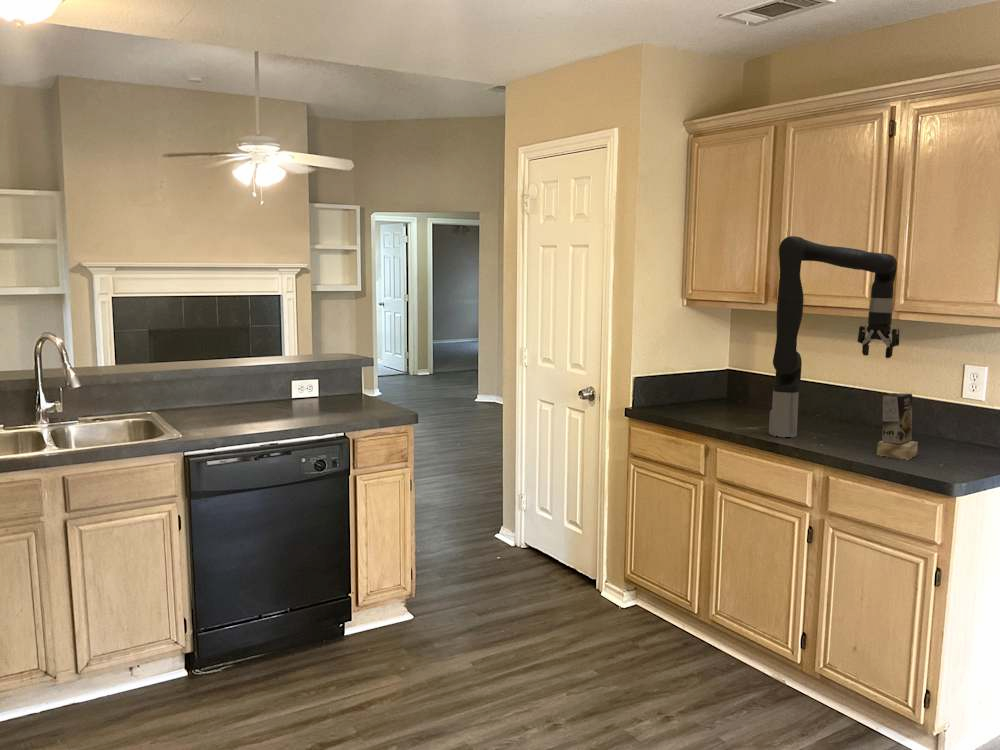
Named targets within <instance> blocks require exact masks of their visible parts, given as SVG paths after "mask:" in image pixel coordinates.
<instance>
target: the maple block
mask: <svg viewBox="0 0 1000 750" xmlns="http://www.w3.org/2000/svg"><path fill="white" fill-rule="evenodd" d="M918 445H919V442H918V441H914V440H910V441H907V442H904V443H902V444H897V443H889V442H882V440H880V441H878V442H877V446H876V447H877V450H876V456H877V455H880V456H879V457H881V456H887V457H886V458H888V457H894V458H893V459H895V458H900V459H899V460H902V459H906V460H905V461H908V460H909V459H910V460H912V459H913V458H912V457H914V456H915V457H917V456H918V447H919V446H918ZM916 455H917V456H916ZM915 457H914V458H915ZM911 458H912V459H911ZM910 460H909V461H910Z"/></svg>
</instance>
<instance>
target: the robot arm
mask: <svg viewBox="0 0 1000 750" xmlns="http://www.w3.org/2000/svg"><path fill="white" fill-rule="evenodd" d="M778 247H779V248H778V256H779V257H778V259H779V279H778V289H777V300H776V341H775V346H774V353H773V359H772V365H773V367H774V370H775V377H774V382H773V384H772V385H773V386H772V388H773V389H772V406H771V408H772V409H770V410H769V421H768V423H769V424H768V434H769V435H771V436H773V437H776V436H778V438H785V437H791V438H796V437H797V433H798V431H797V429H798V413H799V391H800V386H801V385H800V384H801V381H802V380H801V378H802V361H803V360H802V356H801V354H800V353H799V351H798V348H797V347H798V346H797V344H798V343H797V341H798V340H797V339H798V334H799V330H800V326H801V323H802V320H803V313H804V301H805V299H804V290H803V285H802V284H803V283H802V278H801V269H802V262H804V261H805V262H817V263H824V264H829V265H831V266H837V267H841V268H846V269H851V270H858V271H865V272H869V273H874V279H873V280H874V281H873V283H872V284H871V288H870V289H871V290H870V299H869V304H868V317H867V324H868V325H867V326H866V325H863V326H861V325H860V326H859V329H858V337H857V343H860V344H861V345H862V351H861V353H862V355H863V356H869V352H870V345H869V344H870V343H871V342H872V341H873V340H878V341H882V342H883V343H884V344H885V346H886V348H885V355H884V356H885V359H890V358H891V357H892V356H893V352H894V351H893V349H894V347H899V346H900V329H899V328H892V327H891V326H892V320H893V310H894V309H893V308H894V303H893V301H894V300H893V297H894V284H895V279H896V275H897V269H898V267H897V266H898V263H897V259H896V258H895V256H894V255H892V254H889V253H881V252H880V253H879V252H873V251H866V250H862V249H859V248H851V247H843V246H835V245H834V246H833V245H826V244H820V243H817V242H813V241H810V240H807V239H805V238H803V237H802V236H801V237H800V236H797V235H796V236H795V235H790V236H787V237H785V238H783V239H782V241H781V242H780V244H779V246H778ZM866 333H868V334H867V335H866ZM890 335H891V336H890Z"/></svg>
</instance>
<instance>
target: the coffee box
mask: <svg viewBox="0 0 1000 750" xmlns="http://www.w3.org/2000/svg"><path fill="white" fill-rule="evenodd" d="M912 421H913V394H912V393H897V392H892V393H889V394H885V395H882V439H881V441H882V442H889V443H897V444H902V443H904V442H907V441H913V440H912V438H913V432H912V431H913V424H912Z"/></svg>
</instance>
